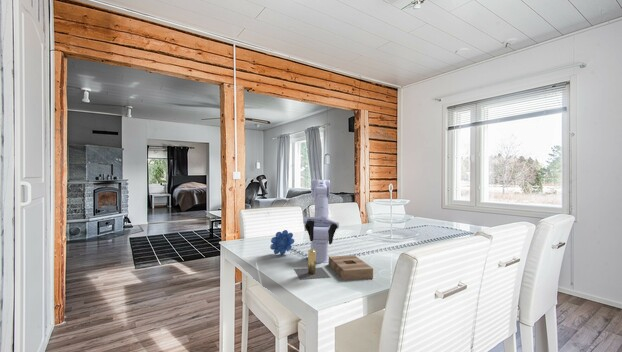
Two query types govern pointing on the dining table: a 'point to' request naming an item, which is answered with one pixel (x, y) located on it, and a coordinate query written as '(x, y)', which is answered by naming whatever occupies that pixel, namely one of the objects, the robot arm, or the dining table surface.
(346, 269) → the walnut block
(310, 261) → the brass pin
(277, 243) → the blue thick lobed disc
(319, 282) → the dining table surface
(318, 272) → the rubber mat
